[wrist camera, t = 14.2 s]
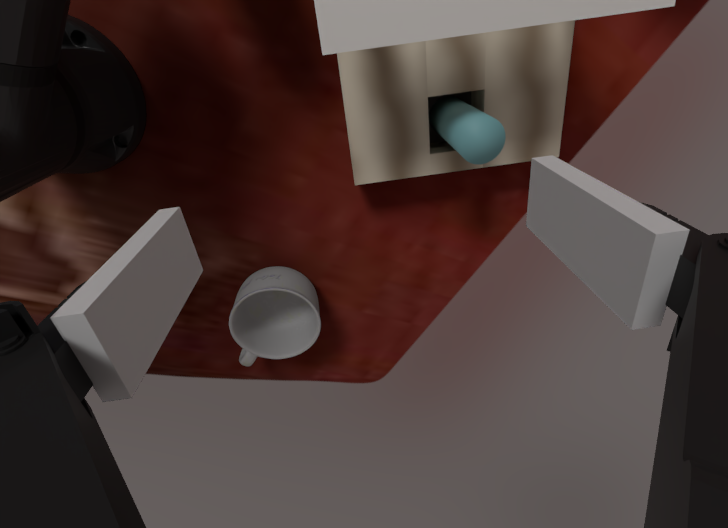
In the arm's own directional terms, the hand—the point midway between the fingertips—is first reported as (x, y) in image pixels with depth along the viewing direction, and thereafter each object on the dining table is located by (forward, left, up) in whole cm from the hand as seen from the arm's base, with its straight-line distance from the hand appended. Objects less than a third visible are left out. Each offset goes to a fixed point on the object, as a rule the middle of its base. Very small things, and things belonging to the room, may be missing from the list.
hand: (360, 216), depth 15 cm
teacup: (-13, -24, -33) cm, 43 cm away
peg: (+11, -3, -32) cm, 34 cm away
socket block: (+11, +2, -33) cm, 35 cm away
